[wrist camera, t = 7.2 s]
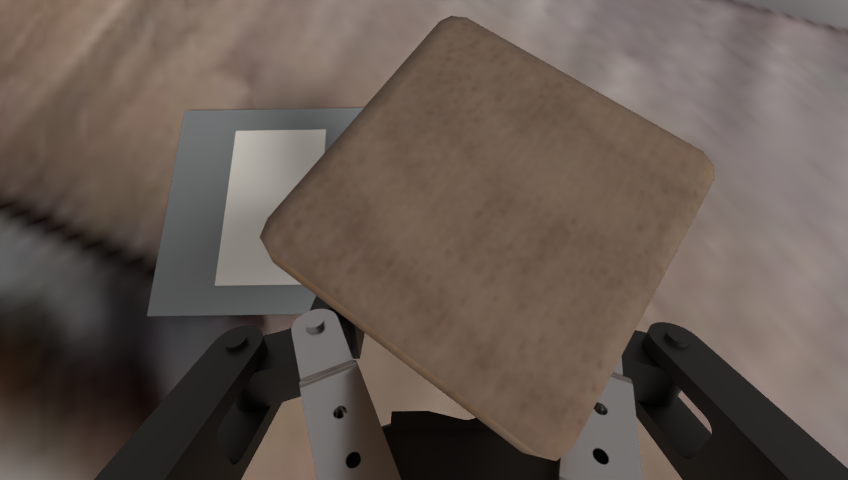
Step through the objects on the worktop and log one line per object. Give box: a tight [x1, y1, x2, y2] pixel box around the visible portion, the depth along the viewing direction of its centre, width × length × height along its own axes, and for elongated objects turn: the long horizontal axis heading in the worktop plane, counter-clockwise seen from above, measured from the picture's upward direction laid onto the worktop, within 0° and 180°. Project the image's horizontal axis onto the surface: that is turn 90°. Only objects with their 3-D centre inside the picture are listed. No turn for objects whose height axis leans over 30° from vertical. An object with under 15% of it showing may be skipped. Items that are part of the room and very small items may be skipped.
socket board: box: [147, 108, 364, 316], centre depth 24 cm, size 16×16×1 cm
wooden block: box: [260, 16, 714, 461], centre depth 13 cm, size 9×4×18 cm, turn 145°
